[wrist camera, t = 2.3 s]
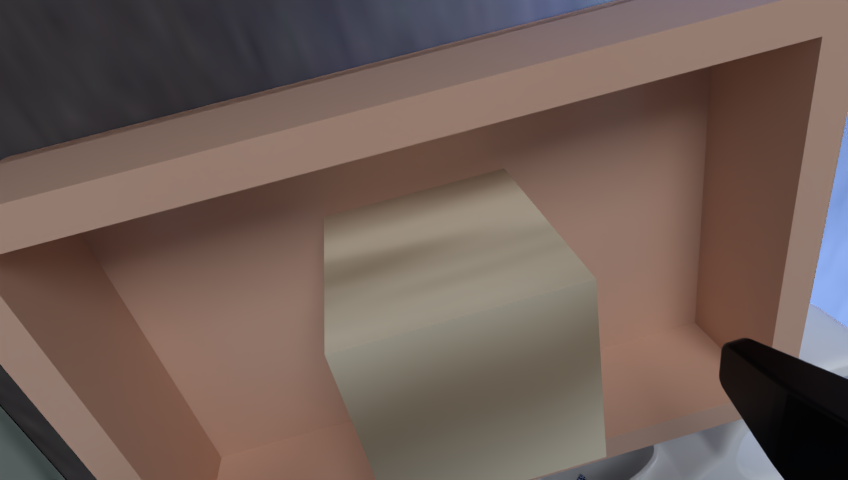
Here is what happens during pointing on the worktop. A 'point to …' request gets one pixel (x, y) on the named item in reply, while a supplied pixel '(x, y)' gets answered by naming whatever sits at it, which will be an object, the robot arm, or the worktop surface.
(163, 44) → the worktop surface
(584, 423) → the birch block
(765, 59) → the dish
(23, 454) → the tray
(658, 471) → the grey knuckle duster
